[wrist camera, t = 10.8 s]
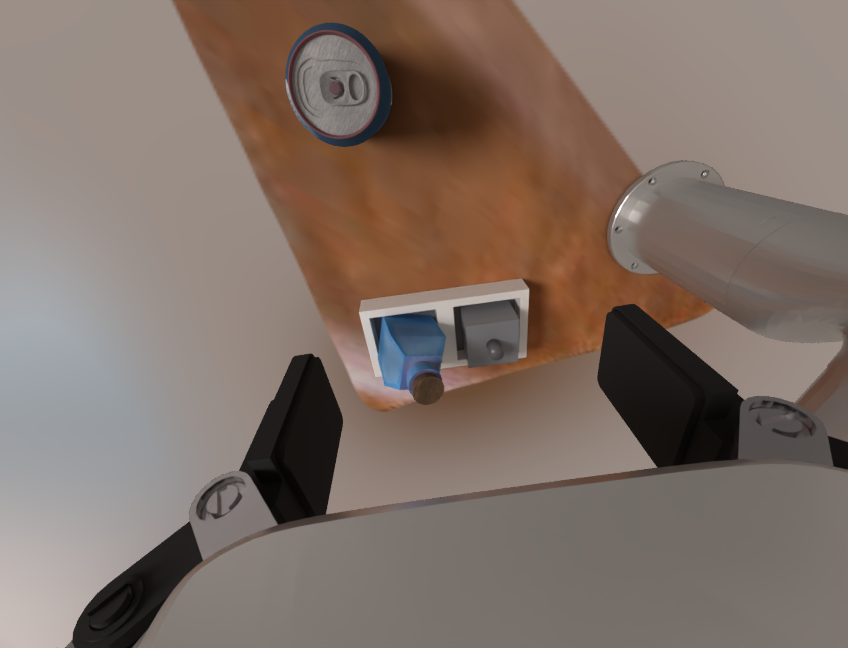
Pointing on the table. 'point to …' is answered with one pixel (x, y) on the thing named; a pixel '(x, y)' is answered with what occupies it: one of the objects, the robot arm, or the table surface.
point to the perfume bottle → (412, 356)
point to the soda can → (338, 84)
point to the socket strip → (445, 314)
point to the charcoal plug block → (489, 333)
